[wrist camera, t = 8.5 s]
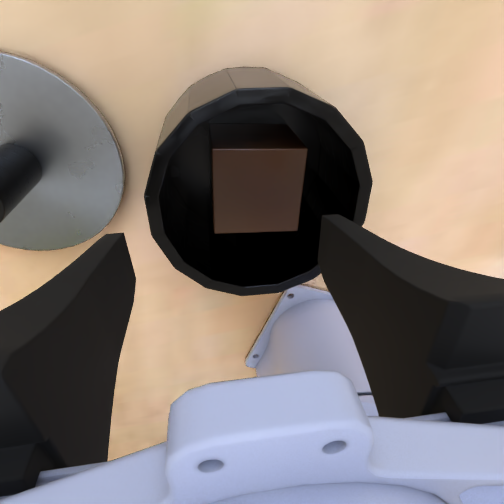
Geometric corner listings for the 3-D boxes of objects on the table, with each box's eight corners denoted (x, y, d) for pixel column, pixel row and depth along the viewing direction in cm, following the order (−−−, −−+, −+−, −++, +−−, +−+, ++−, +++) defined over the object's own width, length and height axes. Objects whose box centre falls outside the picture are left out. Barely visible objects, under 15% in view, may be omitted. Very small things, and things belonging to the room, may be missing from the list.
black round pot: (284, 248, 25) (308, 311, 20) (141, 208, 22) (124, 270, 16) (358, 109, 20) (415, 142, 15) (187, 32, 17) (184, 39, 12)
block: (281, 196, 22) (297, 231, 18) (210, 197, 22) (213, 234, 18) (287, 123, 20) (308, 148, 16) (208, 123, 19) (211, 148, 15)
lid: (108, 258, 23) (87, 317, 19) (-85, 214, 20) (-167, 273, 16) (145, 99, 18) (128, 127, 14) (-105, 5, 15) (-237, 1, 10)
